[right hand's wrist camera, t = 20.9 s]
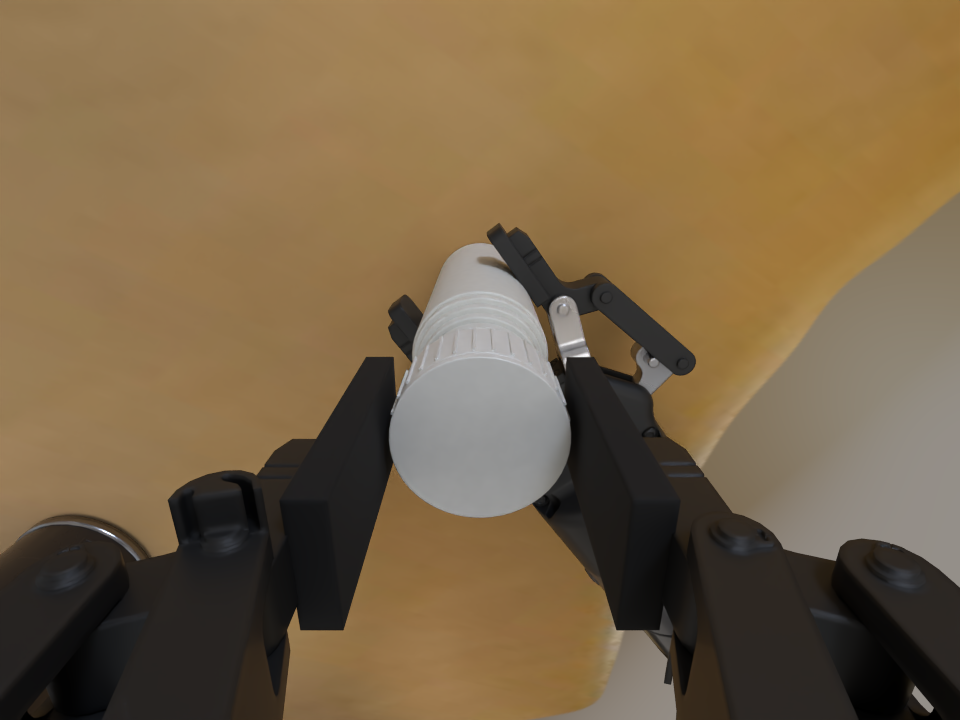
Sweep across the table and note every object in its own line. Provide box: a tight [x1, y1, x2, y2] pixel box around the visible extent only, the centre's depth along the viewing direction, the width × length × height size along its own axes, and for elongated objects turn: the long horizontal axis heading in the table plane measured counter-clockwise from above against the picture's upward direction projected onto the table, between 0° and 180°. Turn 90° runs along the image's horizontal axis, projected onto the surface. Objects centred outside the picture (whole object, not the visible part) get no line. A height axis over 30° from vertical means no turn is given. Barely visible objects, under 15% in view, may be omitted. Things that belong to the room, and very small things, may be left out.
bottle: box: [412, 243, 548, 362], centre depth 21 cm, size 5×5×17 cm
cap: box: [389, 327, 571, 518], centre depth 13 cm, size 4×4×2 cm
